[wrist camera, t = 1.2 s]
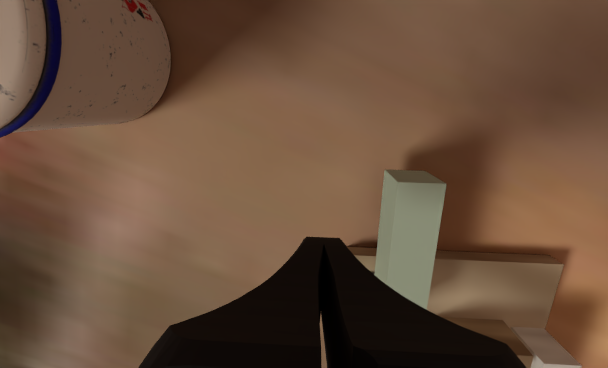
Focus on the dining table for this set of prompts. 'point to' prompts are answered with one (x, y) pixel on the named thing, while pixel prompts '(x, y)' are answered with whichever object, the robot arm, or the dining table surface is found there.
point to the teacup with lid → (79, 62)
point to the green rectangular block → (409, 232)
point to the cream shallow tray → (497, 299)
